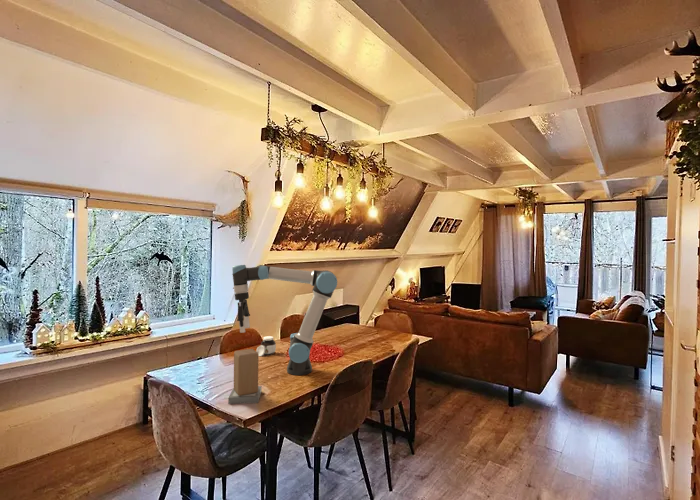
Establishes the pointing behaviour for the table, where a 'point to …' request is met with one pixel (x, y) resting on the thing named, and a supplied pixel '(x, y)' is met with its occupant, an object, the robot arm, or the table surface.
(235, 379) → the wooden block
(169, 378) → the table surface
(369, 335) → the table surface
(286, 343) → the table surface
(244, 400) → the slate base
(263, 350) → the spread jar
